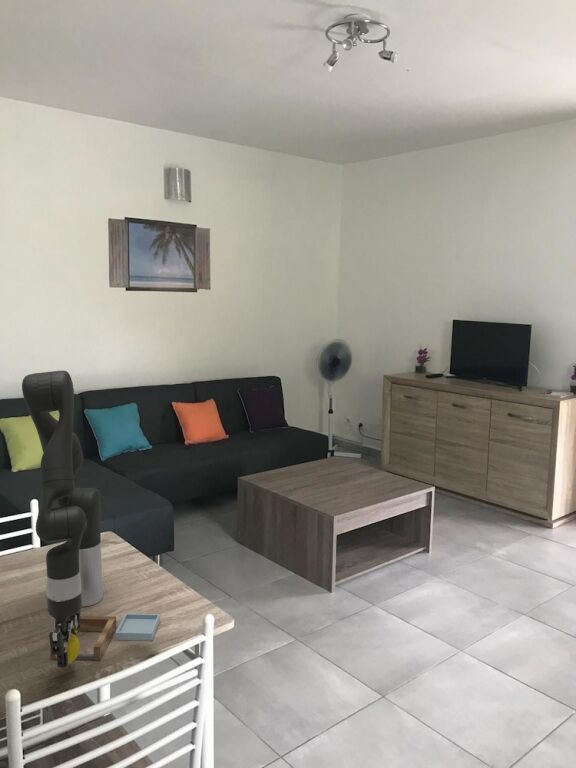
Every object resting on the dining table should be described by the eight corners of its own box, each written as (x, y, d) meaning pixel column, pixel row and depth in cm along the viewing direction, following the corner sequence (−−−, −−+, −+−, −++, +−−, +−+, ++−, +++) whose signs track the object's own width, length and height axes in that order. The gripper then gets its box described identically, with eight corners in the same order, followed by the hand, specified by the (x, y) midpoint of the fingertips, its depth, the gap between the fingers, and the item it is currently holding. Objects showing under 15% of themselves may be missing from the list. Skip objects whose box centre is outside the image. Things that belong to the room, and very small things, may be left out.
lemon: (71, 654, 152) (70, 623, 151) (84, 663, 149) (83, 631, 147) (50, 664, 148) (48, 633, 146) (63, 674, 144) (62, 642, 143)
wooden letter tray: (71, 627, 168) (70, 615, 167) (116, 628, 168) (116, 616, 167) (51, 659, 154) (50, 646, 153) (100, 660, 154) (99, 647, 153)
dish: (125, 620, 172) (125, 613, 171) (160, 620, 172) (159, 614, 171) (115, 639, 162) (115, 632, 162) (152, 640, 162) (152, 633, 162)
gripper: (59, 576, 152) (62, 640, 155) (35, 607, 138) (39, 677, 141) (90, 576, 152) (93, 641, 155) (69, 607, 138) (72, 677, 141)
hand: (67, 657), depth 148 cm, fingers closed on lemon, 5 cm apart
